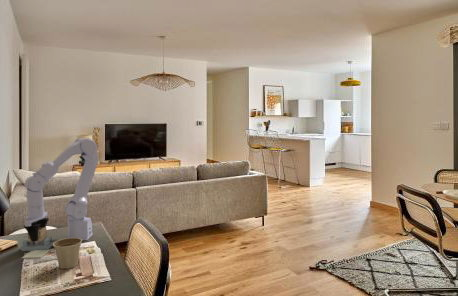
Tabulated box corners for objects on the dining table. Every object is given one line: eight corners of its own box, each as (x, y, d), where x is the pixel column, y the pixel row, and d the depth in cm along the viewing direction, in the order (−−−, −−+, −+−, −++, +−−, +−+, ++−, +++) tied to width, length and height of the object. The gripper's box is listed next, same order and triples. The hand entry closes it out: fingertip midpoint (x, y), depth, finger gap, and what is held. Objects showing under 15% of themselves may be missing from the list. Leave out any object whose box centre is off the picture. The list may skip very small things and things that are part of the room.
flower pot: (89, 262, 127) (87, 238, 127) (69, 272, 119) (68, 248, 118) (68, 259, 130) (67, 236, 130) (47, 269, 122) (46, 245, 121)
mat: (49, 250, 139) (49, 249, 139) (41, 257, 132) (41, 256, 132) (31, 251, 139) (31, 250, 139) (22, 258, 132) (22, 257, 132)
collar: (46, 236, 146) (46, 227, 145) (41, 240, 141) (40, 231, 140) (34, 237, 145) (33, 227, 145) (28, 241, 140) (27, 231, 140)
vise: (61, 243, 147) (61, 227, 147) (54, 249, 140) (53, 232, 140) (30, 244, 146) (29, 228, 146) (21, 251, 140) (19, 233, 139)
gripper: (34, 201, 149) (36, 233, 150) (15, 210, 134) (18, 245, 136) (51, 201, 149) (53, 232, 150) (34, 210, 135) (36, 244, 136)
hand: (37, 238), depth 143 cm, fingers closed on collar, 5 cm apart
